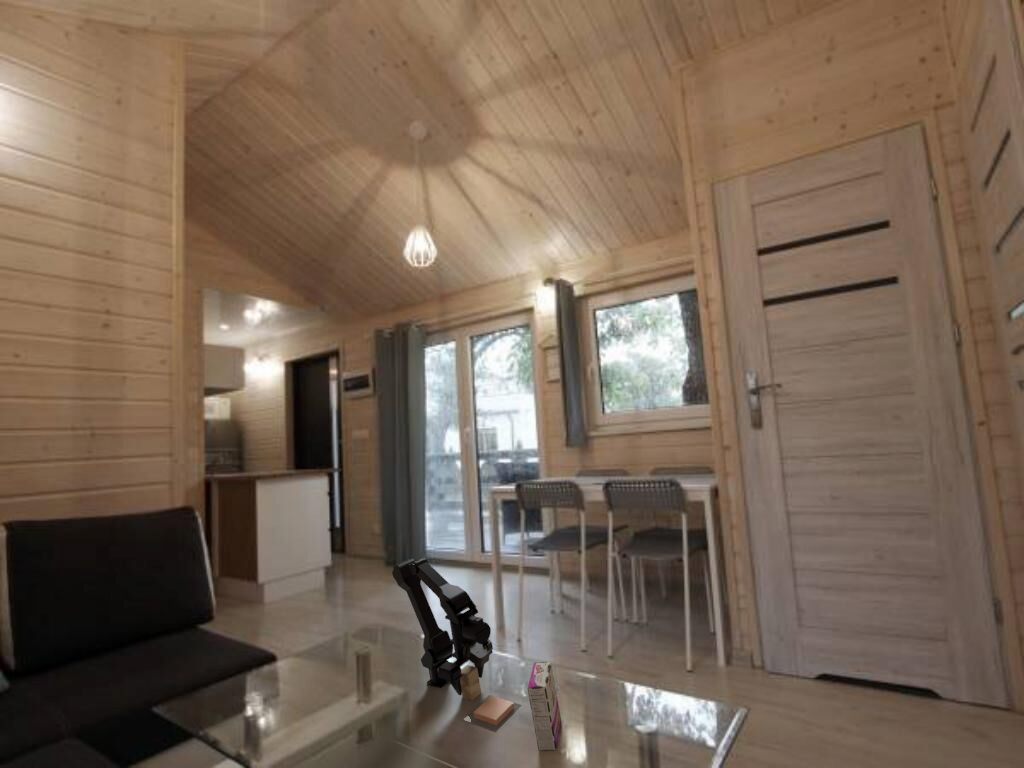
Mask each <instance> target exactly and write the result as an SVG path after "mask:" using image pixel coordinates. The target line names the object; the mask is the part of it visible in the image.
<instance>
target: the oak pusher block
mask: <svg viewBox="0 0 1024 768" xmlns="http://www.w3.org/2000/svg"><path fill="white" fill-rule="evenodd" d="M461 675H462V677H461V678H460V682H461V689H462V695H461V696H462V698H463V699H467V700H469V701H474V700H475V699H476V698H477V697H478V696H480V695H481V694H482V688H481V684H480V678H479V676H478V670H477V667H475V666H473V665H469V664H466V665H464V666H463V667H462V668H461Z"/></svg>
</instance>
